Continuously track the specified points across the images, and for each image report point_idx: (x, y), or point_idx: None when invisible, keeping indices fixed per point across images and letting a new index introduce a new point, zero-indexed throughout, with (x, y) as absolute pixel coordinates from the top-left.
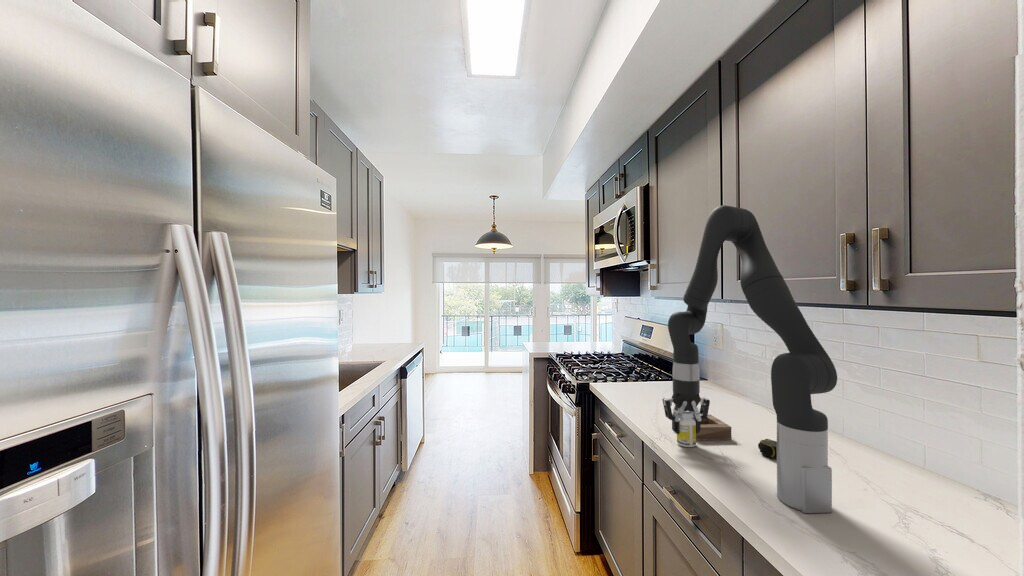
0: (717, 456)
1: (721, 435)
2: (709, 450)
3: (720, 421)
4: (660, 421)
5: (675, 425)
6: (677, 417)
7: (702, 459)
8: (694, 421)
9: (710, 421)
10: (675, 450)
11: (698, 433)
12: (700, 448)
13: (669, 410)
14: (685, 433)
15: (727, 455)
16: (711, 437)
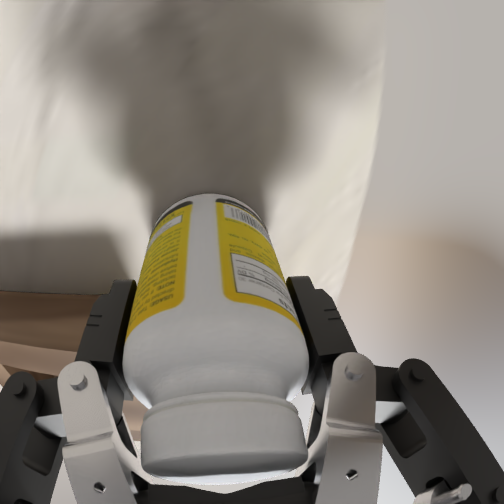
0: (94, 59)
1: (5, 306)
2: (98, 154)
3: (1, 381)
4: None
5: (333, 330)
6: (356, 394)
7: (229, 10)
8: (139, 360)
9: None
10: (329, 167)
11: None
12: (142, 186)
13: (459, 434)
14: (255, 253)
15: (32, 86)
16: (46, 303)
